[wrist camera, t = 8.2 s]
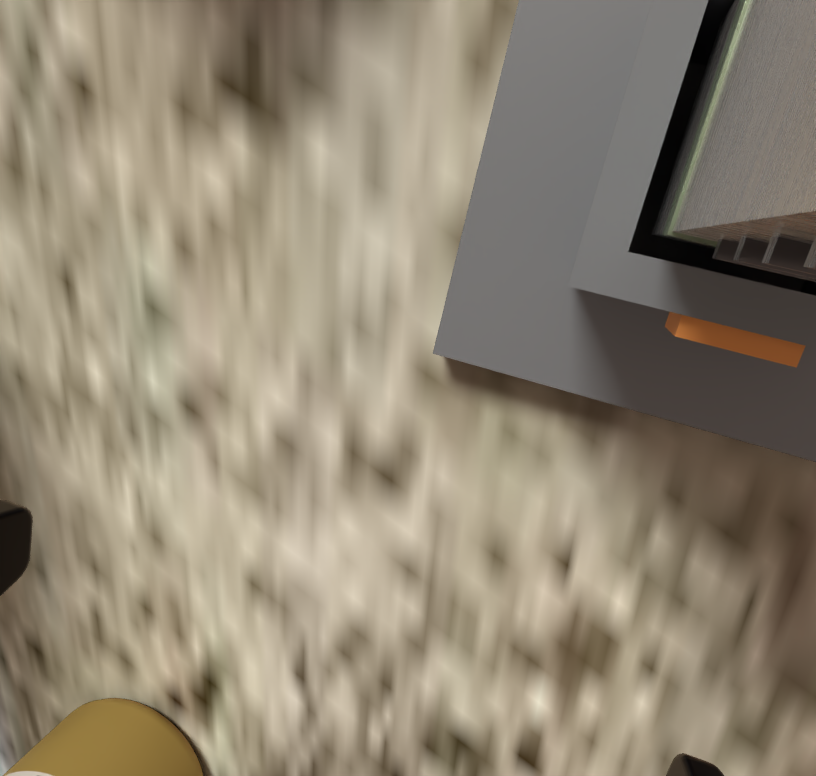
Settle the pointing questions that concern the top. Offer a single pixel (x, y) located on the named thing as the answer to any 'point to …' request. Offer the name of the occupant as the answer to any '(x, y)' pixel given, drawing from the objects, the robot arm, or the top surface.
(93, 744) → the paper tube
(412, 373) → the top surface
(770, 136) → the column
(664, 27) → the stand base
